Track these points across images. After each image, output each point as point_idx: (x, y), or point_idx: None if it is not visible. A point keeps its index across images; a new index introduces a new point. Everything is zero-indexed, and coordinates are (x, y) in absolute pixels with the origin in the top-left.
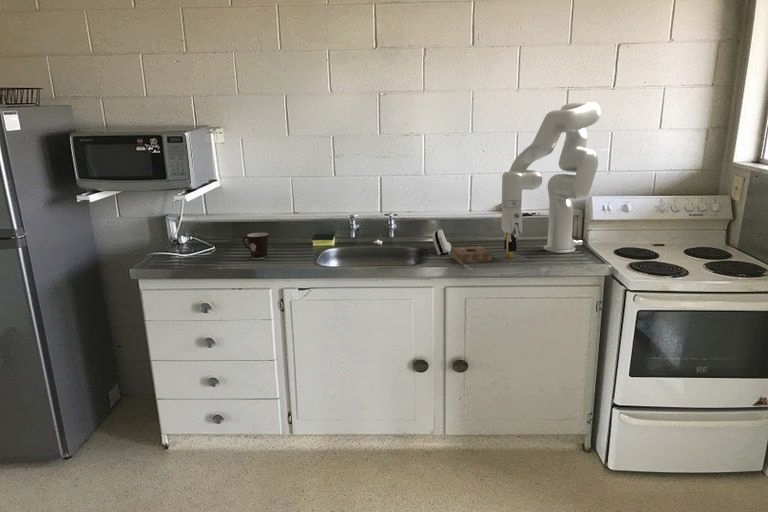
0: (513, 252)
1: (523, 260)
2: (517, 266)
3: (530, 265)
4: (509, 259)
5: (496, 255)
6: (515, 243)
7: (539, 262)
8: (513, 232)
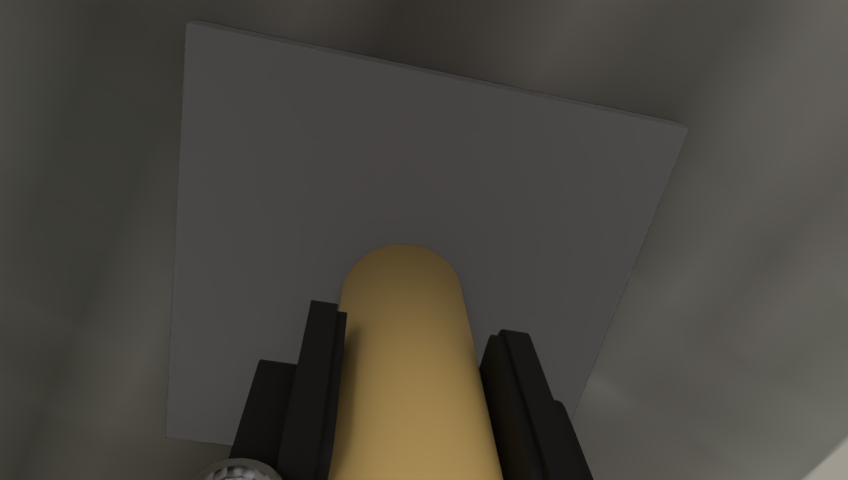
0: (469, 332)
1: (650, 223)
2: (757, 400)
3: (845, 245)
4: None
5: (174, 380)
6: (557, 458)
7: (833, 7)
8: None
